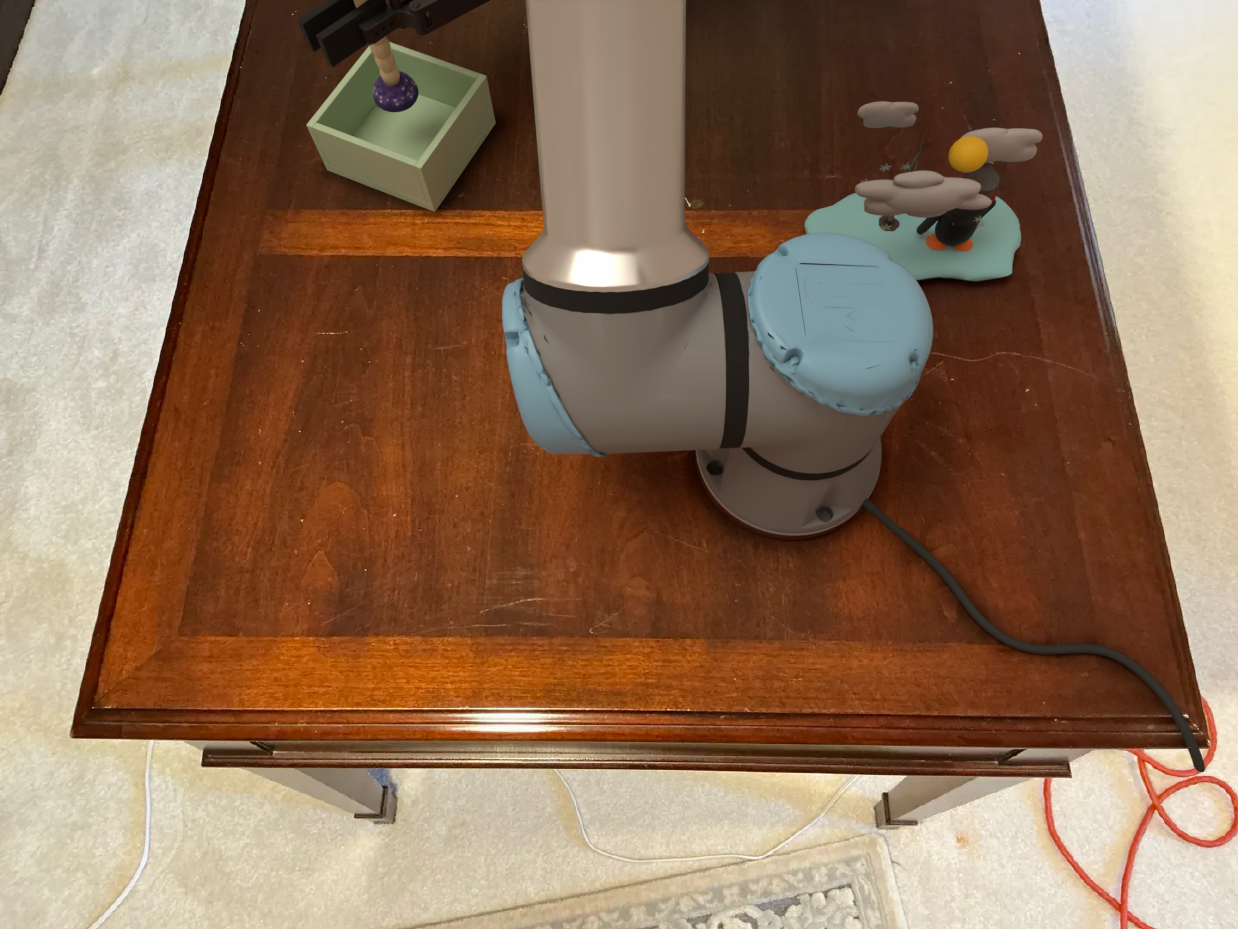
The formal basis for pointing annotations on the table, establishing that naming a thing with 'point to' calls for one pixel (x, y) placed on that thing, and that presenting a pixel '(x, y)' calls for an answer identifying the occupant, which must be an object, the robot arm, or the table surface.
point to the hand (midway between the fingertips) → (315, 43)
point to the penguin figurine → (936, 204)
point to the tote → (405, 128)
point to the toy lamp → (391, 79)
